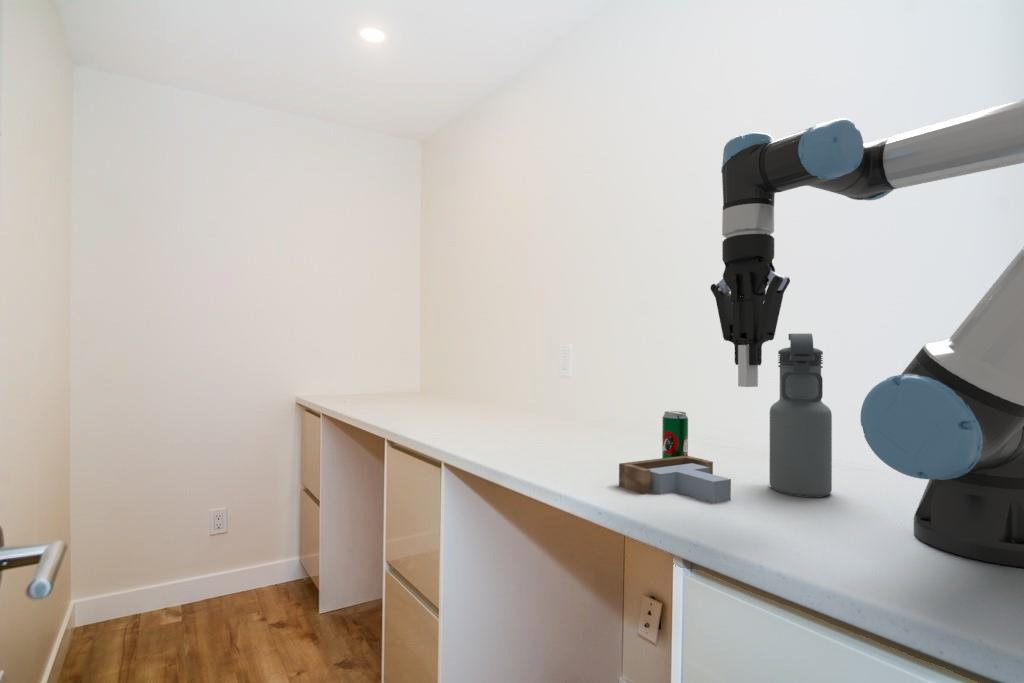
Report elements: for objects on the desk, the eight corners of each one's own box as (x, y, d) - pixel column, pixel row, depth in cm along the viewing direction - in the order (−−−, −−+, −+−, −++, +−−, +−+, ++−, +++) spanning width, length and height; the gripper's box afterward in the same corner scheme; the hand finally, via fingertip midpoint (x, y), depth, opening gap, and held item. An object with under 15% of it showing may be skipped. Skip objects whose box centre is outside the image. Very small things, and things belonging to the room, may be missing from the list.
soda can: (689, 473, 108) (689, 414, 108) (663, 472, 109) (663, 413, 109) (686, 468, 113) (686, 411, 113) (661, 467, 114) (661, 410, 114)
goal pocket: (712, 483, 101) (712, 461, 101) (643, 493, 93) (643, 470, 93) (686, 475, 107) (686, 455, 107) (619, 485, 98) (619, 463, 99)
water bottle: (835, 501, 89) (835, 332, 89) (769, 494, 93) (770, 332, 94) (828, 487, 98) (828, 334, 99) (769, 481, 102) (769, 334, 103)
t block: (696, 506, 86) (696, 484, 86) (644, 489, 96) (644, 469, 96) (746, 497, 91) (746, 476, 92) (692, 481, 102) (692, 463, 102)
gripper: (801, 231, 81) (802, 388, 81) (729, 246, 93) (729, 383, 92) (769, 225, 78) (769, 389, 77) (698, 241, 89) (698, 384, 89)
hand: (747, 386), depth 85 cm, fingers closed
